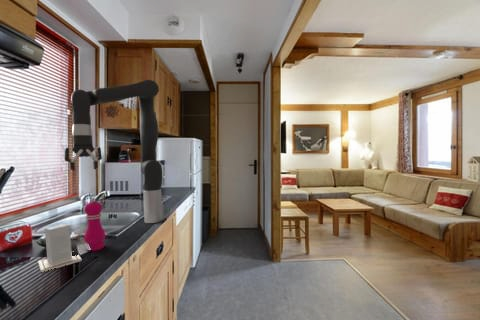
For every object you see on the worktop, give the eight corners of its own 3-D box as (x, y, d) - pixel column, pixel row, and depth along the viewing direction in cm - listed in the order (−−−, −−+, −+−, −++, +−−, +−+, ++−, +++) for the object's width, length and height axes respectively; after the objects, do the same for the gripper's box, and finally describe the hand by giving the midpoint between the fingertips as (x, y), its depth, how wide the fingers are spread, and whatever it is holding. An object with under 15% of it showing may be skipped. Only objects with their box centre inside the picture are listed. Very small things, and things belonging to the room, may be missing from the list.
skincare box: (66, 255, 87) (64, 223, 87) (72, 257, 85) (70, 224, 85) (46, 262, 82) (44, 227, 82) (51, 265, 80) (49, 229, 79)
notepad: (75, 252, 91) (75, 250, 91) (81, 260, 84) (81, 258, 84) (38, 262, 83) (38, 260, 83) (41, 272, 76) (41, 270, 76)
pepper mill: (80, 249, 94) (77, 199, 93) (98, 243, 100) (96, 195, 99) (91, 253, 90) (88, 200, 89) (109, 246, 97) (107, 197, 96)
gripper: (97, 135, 118) (99, 168, 118) (62, 135, 108) (64, 170, 108) (102, 134, 112) (104, 169, 113) (65, 133, 102) (67, 171, 103)
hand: (84, 169), depth 111 cm, fingers open, 8 cm apart
